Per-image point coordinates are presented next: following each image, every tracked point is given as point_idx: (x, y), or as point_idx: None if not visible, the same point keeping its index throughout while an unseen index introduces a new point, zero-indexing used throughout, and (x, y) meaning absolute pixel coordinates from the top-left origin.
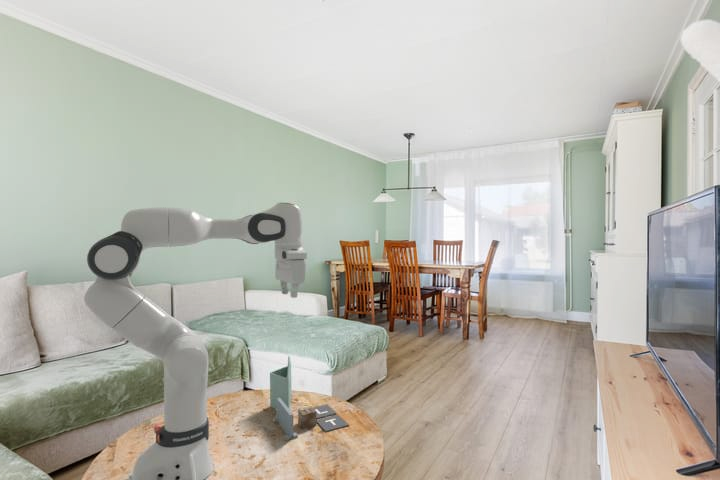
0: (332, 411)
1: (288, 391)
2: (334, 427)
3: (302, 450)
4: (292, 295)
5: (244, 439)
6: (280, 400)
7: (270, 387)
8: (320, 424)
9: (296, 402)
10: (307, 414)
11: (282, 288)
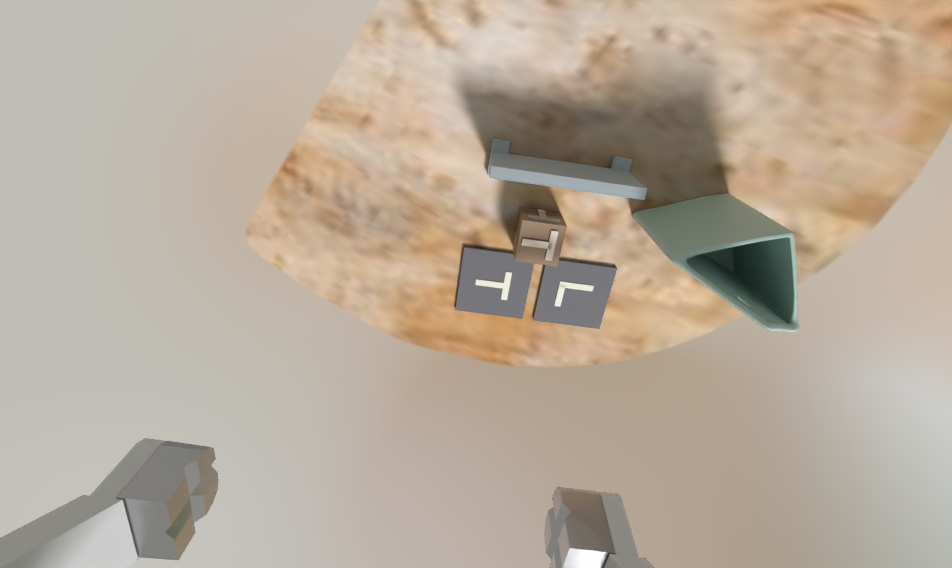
0: (548, 316)
1: (654, 241)
2: (465, 274)
3: (417, 151)
4: (127, 461)
5: (583, 31)
6: (617, 190)
7: (757, 213)
8: (504, 254)
9: None
10: (519, 233)
11: (609, 562)
